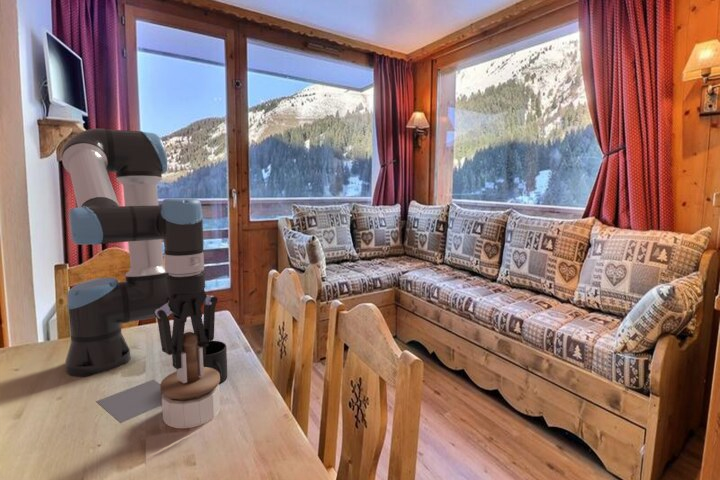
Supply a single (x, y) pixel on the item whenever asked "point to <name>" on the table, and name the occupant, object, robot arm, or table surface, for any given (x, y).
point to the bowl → (191, 409)
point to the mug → (217, 358)
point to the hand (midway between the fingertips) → (190, 377)
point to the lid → (190, 374)
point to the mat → (133, 401)
